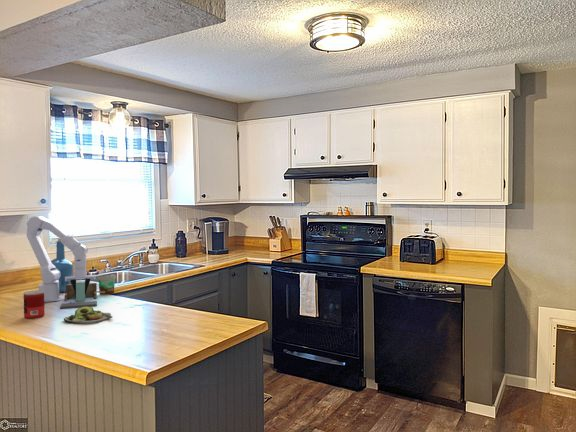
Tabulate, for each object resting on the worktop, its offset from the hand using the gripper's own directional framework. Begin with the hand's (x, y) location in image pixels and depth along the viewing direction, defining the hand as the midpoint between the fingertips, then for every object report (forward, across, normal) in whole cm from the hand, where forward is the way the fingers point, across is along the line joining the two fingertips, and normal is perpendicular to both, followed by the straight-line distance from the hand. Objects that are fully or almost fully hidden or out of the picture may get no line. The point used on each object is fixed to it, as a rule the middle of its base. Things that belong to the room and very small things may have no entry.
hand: (80, 293), depth 238 cm
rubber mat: (+3, 0, +16) cm, 17 cm away
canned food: (+3, +17, +33) cm, 38 cm away
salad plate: (+3, -5, +46) cm, 47 cm away
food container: (+3, -14, -14) cm, 20 cm away
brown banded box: (+3, 0, -3) cm, 4 cm away
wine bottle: (+3, +12, -31) cm, 33 cm away
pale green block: (+3, 0, 0) cm, 3 cm away
